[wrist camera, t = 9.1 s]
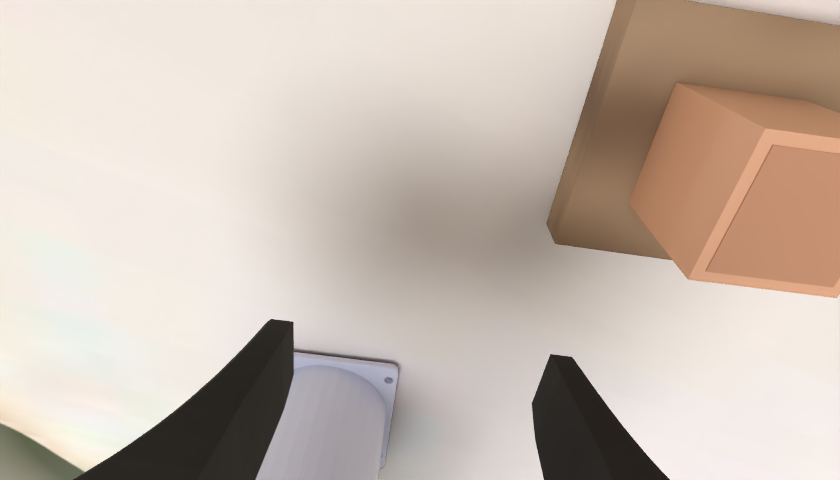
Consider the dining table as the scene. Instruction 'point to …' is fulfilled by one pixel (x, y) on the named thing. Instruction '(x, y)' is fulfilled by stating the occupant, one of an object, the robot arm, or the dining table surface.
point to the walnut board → (651, 90)
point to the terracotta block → (745, 190)
